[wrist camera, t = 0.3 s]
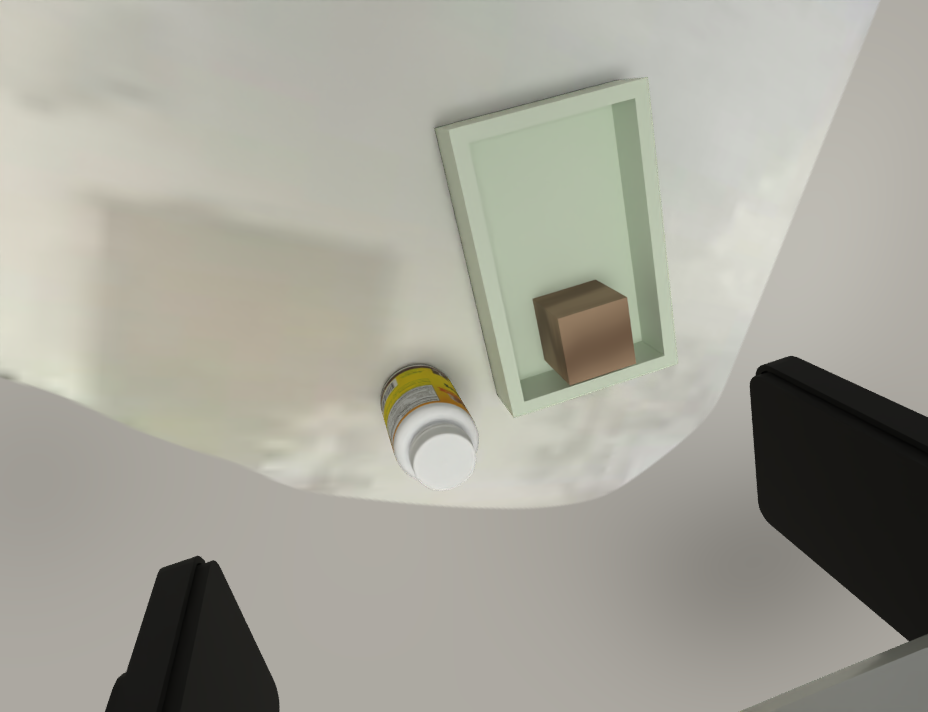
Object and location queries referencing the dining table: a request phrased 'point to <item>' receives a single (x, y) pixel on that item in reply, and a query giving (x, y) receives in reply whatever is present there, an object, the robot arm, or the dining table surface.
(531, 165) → the tote
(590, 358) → the walnut block
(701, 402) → the dining table surface
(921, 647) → the robot arm
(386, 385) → the supplement bottle
